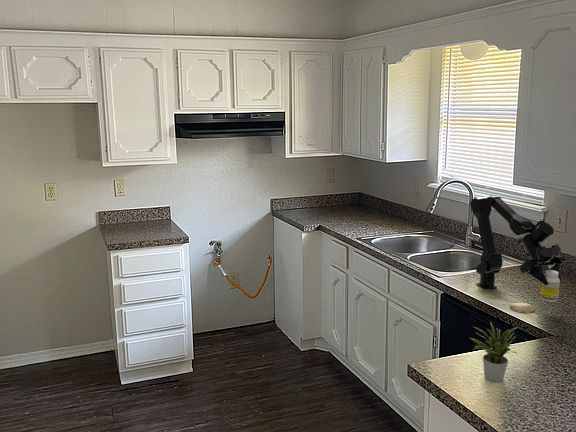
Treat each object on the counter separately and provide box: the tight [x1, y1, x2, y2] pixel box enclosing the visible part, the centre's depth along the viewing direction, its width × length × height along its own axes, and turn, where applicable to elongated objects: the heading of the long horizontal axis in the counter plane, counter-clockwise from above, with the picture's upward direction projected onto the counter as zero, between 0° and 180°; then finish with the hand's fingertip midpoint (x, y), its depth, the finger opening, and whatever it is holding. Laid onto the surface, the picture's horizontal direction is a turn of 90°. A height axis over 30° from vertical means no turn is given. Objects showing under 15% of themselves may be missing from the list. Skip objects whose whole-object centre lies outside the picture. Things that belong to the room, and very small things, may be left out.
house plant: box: [469, 321, 519, 383], centre depth 173 cm, size 14×14×16 cm
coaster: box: [509, 302, 536, 313], centre depth 229 cm, size 9×9×1 cm
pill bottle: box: [539, 269, 561, 303], centre depth 223 cm, size 6×6×11 cm
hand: (553, 283), depth 222 cm, fingers closed on pill bottle, 6 cm apart
